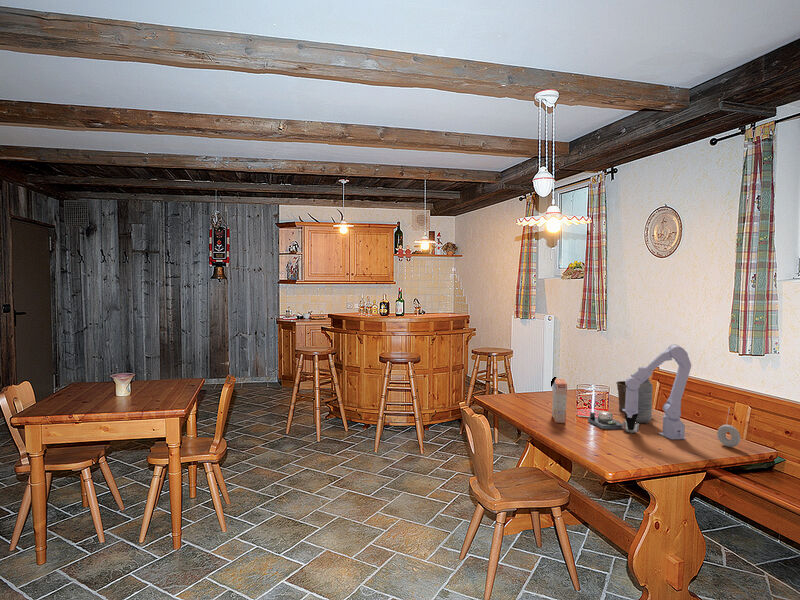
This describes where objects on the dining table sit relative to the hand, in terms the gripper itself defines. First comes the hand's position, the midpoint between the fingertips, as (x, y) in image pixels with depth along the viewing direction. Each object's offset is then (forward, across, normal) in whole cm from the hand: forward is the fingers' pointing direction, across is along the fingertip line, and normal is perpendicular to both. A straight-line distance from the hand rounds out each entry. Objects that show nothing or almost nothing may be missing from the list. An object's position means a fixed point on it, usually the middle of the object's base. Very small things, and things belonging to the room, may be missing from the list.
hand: (630, 428), depth 249 cm
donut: (+2, -1, +40) cm, 41 cm away
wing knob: (+2, 0, 0) cm, 2 cm away
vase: (+2, -23, +2) cm, 23 cm away
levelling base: (+2, -6, -12) cm, 14 cm away
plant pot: (+2, -44, -5) cm, 44 cm away
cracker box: (+2, -2, -35) cm, 36 cm away
